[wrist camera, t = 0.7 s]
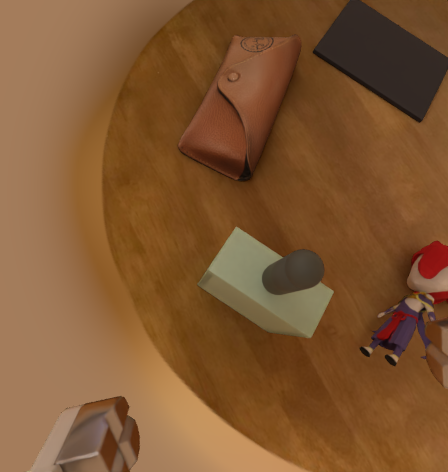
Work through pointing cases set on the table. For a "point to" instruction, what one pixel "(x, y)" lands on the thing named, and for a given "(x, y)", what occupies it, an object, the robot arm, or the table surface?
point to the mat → (384, 58)
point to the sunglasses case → (241, 105)
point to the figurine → (414, 302)
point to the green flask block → (269, 285)
